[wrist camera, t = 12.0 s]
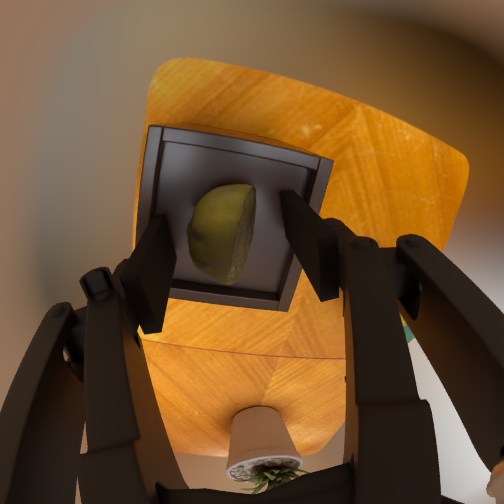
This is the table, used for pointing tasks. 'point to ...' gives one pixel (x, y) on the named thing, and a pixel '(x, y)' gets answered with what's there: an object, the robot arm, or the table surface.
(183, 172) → the dark brown box
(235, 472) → the potted plant
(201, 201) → the lime
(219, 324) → the table surface
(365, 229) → the table surface
